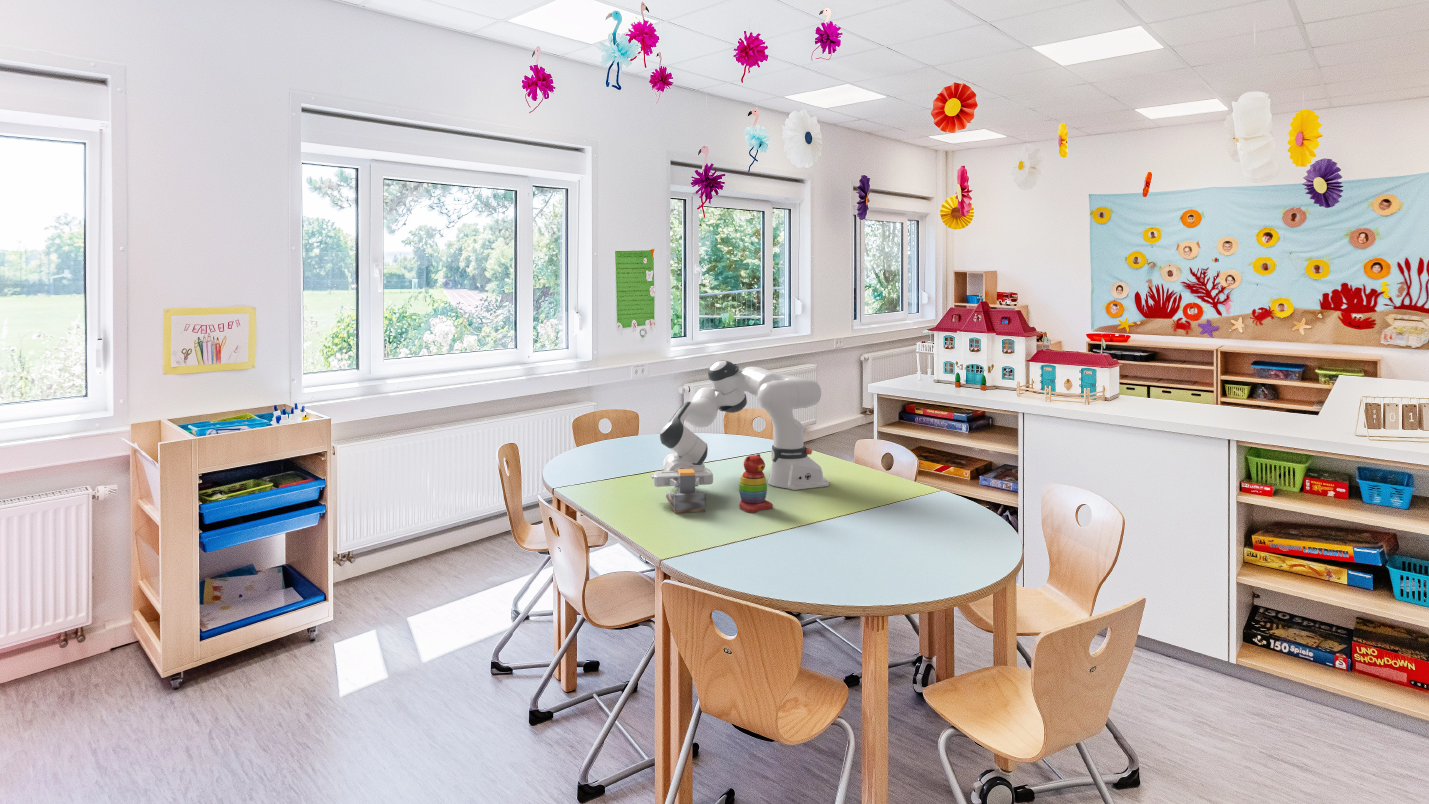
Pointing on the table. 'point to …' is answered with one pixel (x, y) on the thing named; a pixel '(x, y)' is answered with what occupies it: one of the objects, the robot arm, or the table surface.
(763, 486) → the stacking bear
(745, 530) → the table surface
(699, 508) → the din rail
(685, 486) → the grey tall block
